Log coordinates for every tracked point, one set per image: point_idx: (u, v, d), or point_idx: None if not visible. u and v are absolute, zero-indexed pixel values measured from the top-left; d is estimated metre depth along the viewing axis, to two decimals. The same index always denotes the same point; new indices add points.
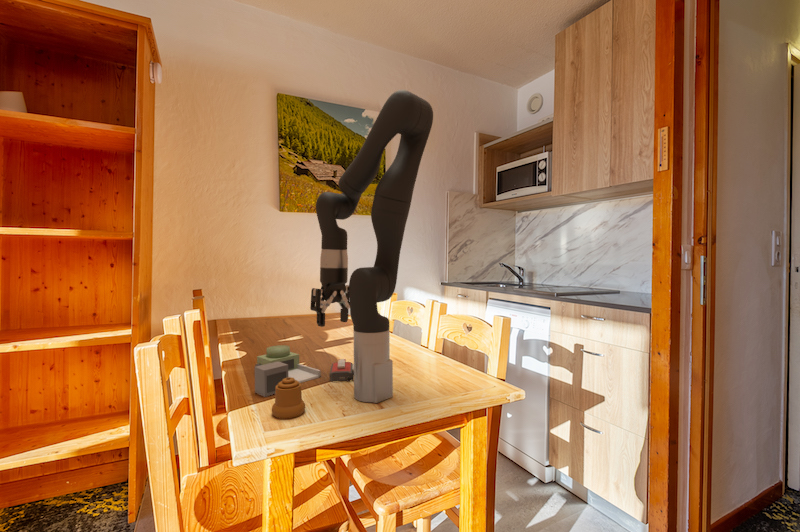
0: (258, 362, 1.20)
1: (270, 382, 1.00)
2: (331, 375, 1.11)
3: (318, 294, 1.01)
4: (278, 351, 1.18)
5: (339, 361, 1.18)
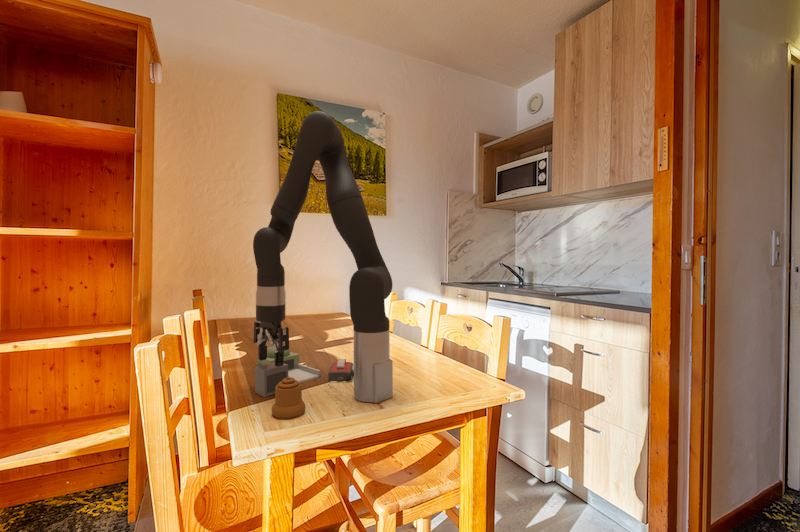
0: (258, 362, 1.20)
1: (270, 382, 1.00)
2: (330, 375, 1.11)
3: None
4: None
5: (339, 361, 1.18)
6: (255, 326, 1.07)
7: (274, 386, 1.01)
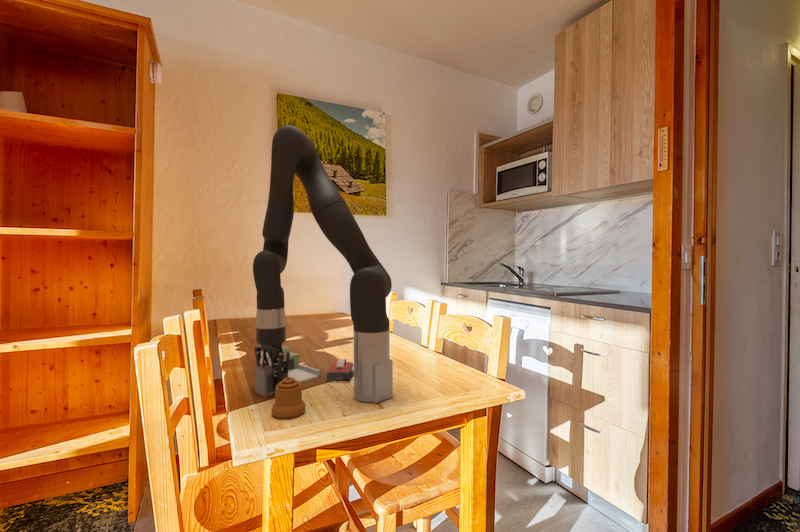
0: None
1: (270, 382, 1.00)
2: (328, 375, 1.11)
3: None
4: None
5: (338, 361, 1.18)
6: (256, 351, 1.06)
7: None
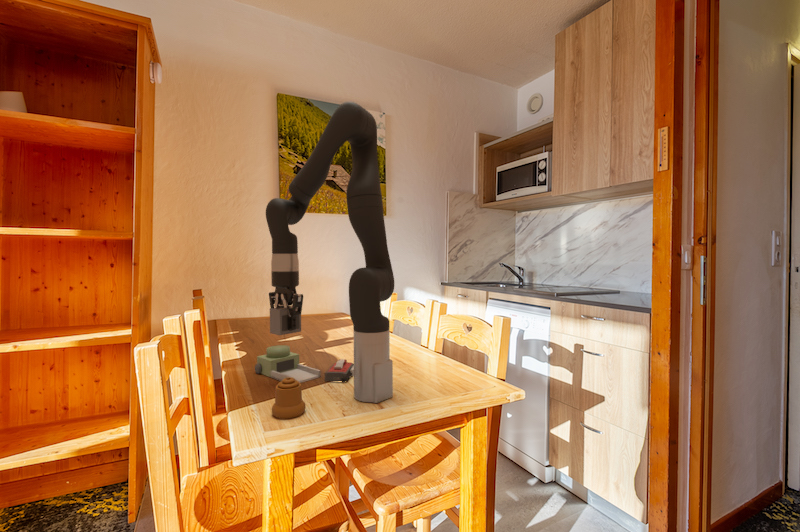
0: (258, 362, 1.20)
1: (285, 322, 1.07)
2: (326, 375, 1.11)
3: None
4: (278, 351, 1.18)
5: (338, 361, 1.18)
6: (270, 296, 1.13)
7: None
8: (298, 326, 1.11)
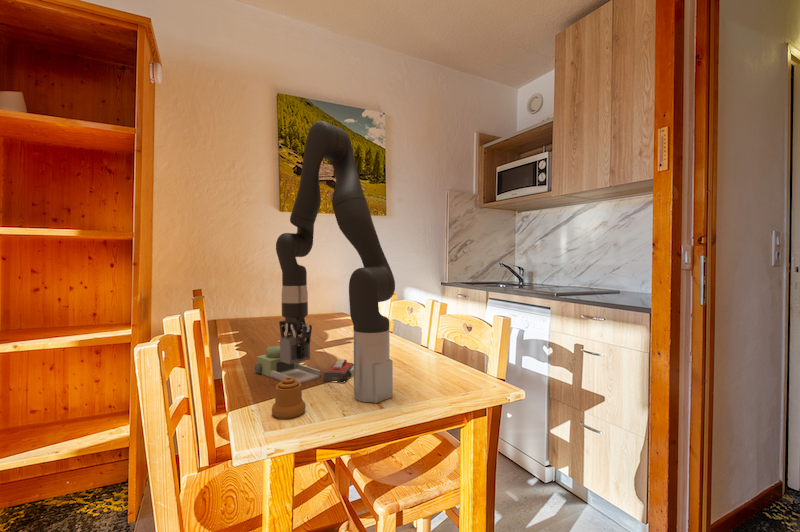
0: (258, 362, 1.20)
1: (295, 351, 1.12)
2: (324, 375, 1.11)
3: None
4: (278, 351, 1.18)
5: (338, 361, 1.18)
6: (280, 325, 1.18)
7: None
8: (307, 354, 1.15)
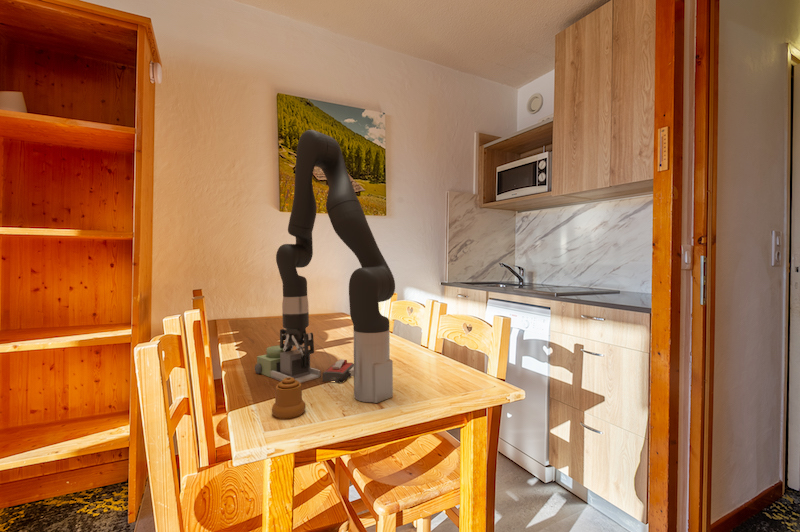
0: (258, 362, 1.20)
1: (295, 366, 1.12)
2: (323, 375, 1.11)
3: None
4: (278, 351, 1.18)
5: (338, 361, 1.18)
6: (281, 333, 1.18)
7: (298, 370, 1.13)
8: (307, 369, 1.15)
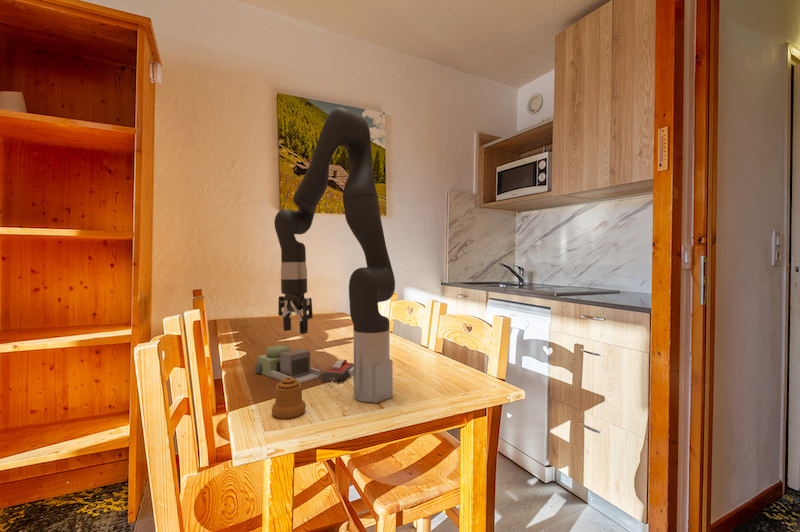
0: (258, 362, 1.20)
1: (295, 366, 1.12)
2: (322, 375, 1.11)
3: None
4: (278, 351, 1.18)
5: (337, 361, 1.18)
6: (279, 300, 1.18)
7: (298, 370, 1.13)
8: (307, 369, 1.15)
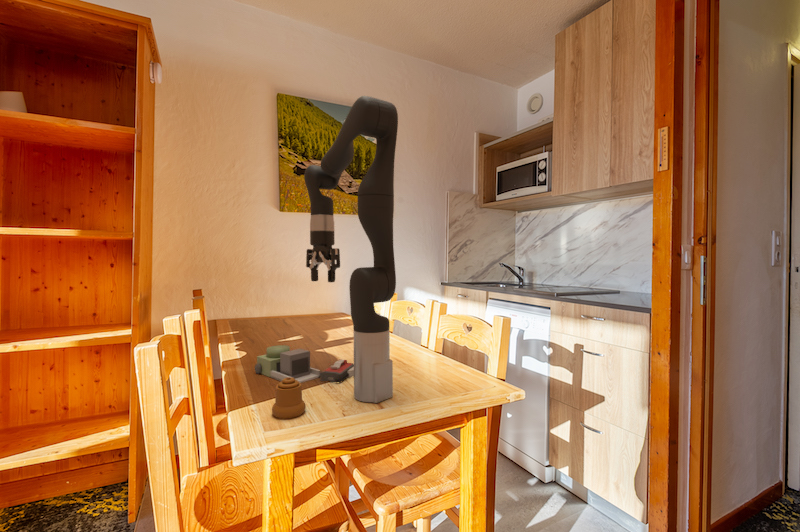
0: (258, 362, 1.20)
1: (295, 366, 1.12)
2: (321, 374, 1.12)
3: None
4: (278, 351, 1.18)
5: (337, 361, 1.18)
6: (308, 252, 1.25)
7: (298, 370, 1.13)
8: (307, 369, 1.15)
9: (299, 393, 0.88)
